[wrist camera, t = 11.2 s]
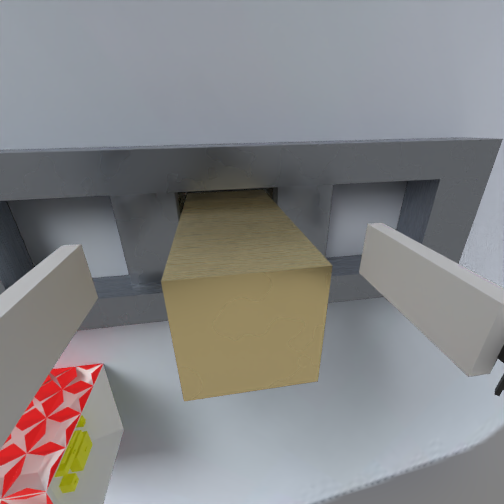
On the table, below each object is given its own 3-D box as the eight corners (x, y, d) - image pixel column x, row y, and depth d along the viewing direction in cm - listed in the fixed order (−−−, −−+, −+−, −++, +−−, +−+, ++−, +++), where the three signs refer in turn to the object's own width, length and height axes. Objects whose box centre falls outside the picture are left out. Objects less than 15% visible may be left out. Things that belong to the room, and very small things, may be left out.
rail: (-3, 314, 17) (-35, 342, 15) (-89, 152, 13) (-151, 157, 11) (423, 272, 21) (449, 289, 19) (462, 137, 17) (502, 138, 14)
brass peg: (195, 261, 17) (183, 401, 8) (187, 193, 16) (161, 281, 7) (262, 255, 18) (317, 381, 9) (262, 189, 16) (332, 265, 7)
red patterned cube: (124, 428, 23) (87, 560, 16) (24, 442, 22) (-62, 590, 15) (103, 362, 20) (45, 491, 13) (-16, 374, 19) (-151, 524, 12)
